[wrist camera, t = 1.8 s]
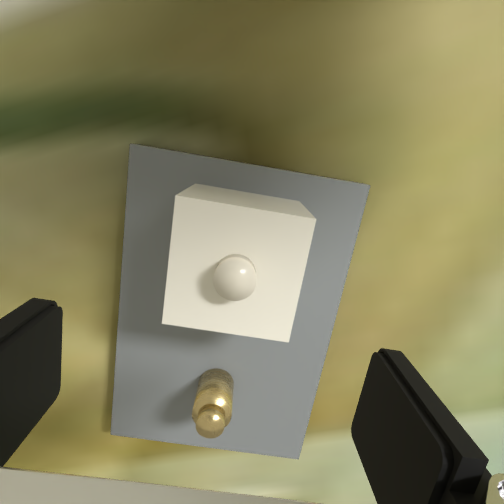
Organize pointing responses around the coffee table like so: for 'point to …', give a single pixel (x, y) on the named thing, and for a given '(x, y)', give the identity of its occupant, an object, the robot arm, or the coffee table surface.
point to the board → (216, 343)
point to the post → (213, 403)
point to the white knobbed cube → (236, 262)
